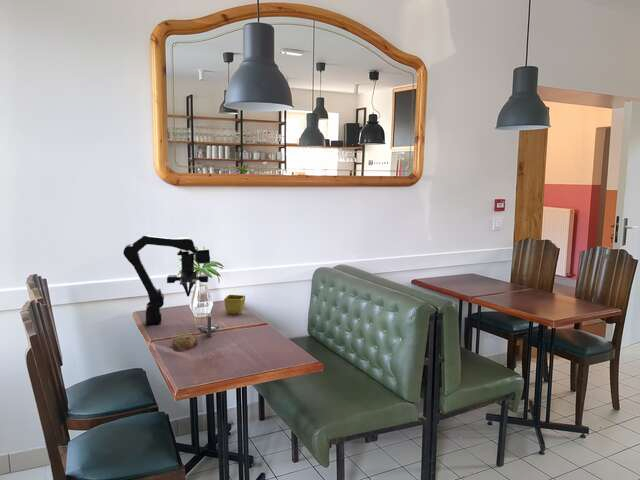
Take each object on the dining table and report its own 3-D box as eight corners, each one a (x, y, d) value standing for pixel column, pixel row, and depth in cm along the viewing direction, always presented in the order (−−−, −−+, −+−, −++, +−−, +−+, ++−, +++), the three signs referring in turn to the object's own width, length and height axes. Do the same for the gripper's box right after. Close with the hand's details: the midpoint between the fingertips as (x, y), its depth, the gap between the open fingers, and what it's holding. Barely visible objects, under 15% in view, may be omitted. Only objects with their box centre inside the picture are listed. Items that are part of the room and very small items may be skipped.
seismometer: (198, 324, 231) (198, 305, 230) (218, 323, 233) (217, 304, 232) (198, 337, 213) (198, 317, 212) (220, 336, 215) (219, 315, 214)
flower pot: (245, 312, 256) (245, 295, 255) (241, 317, 248) (241, 299, 246) (228, 311, 257) (228, 294, 256) (224, 316, 249) (223, 298, 247)
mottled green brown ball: (170, 357, 203) (164, 343, 199) (183, 340, 211) (178, 325, 207) (190, 361, 200) (185, 346, 196) (203, 343, 208) (198, 328, 204)
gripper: (165, 267, 227) (165, 301, 229) (207, 267, 231) (207, 300, 233) (167, 263, 238) (168, 295, 240) (208, 262, 241) (208, 294, 244)
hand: (188, 296), depth 239 cm, fingers closed
